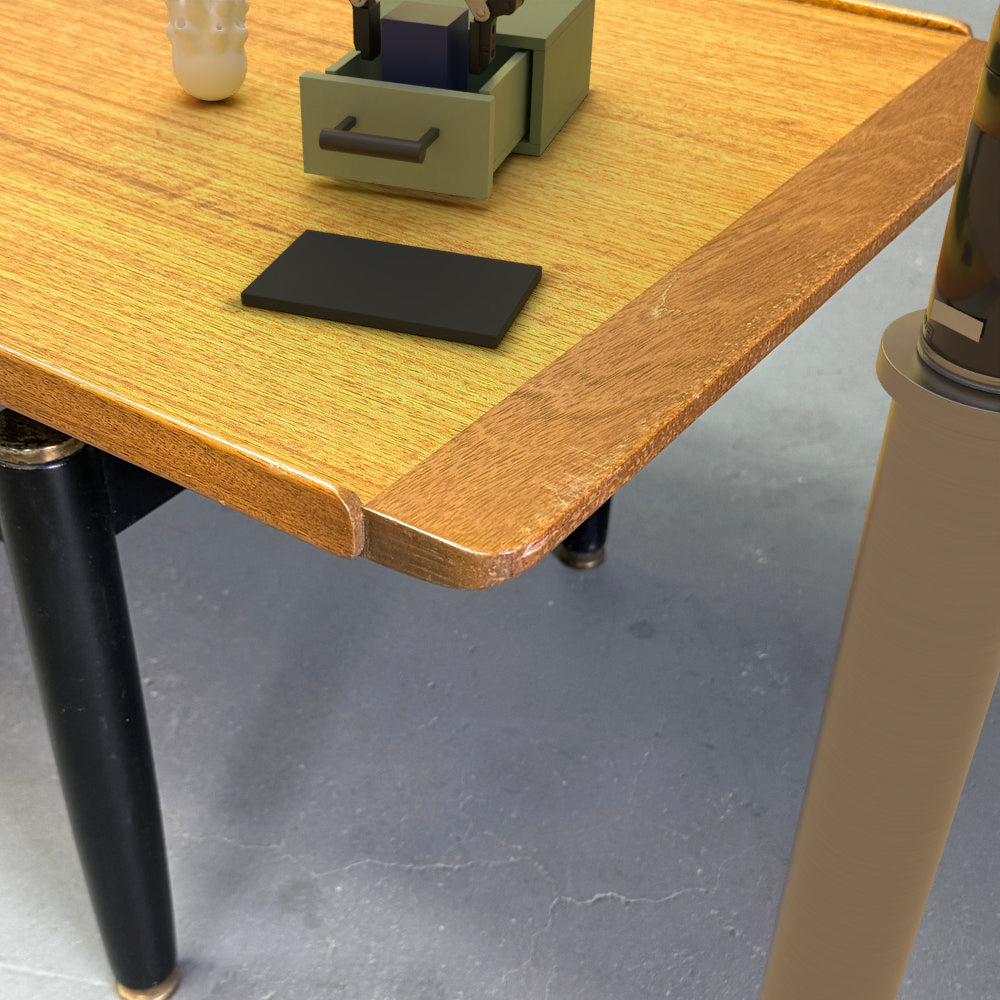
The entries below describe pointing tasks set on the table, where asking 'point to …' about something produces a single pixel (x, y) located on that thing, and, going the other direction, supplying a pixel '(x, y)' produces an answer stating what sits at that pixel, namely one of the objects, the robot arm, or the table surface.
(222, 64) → the figurine
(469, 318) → the mat
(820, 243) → the table surface
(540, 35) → the cabinet
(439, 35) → the navy box
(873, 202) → the table surface
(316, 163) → the drawer
